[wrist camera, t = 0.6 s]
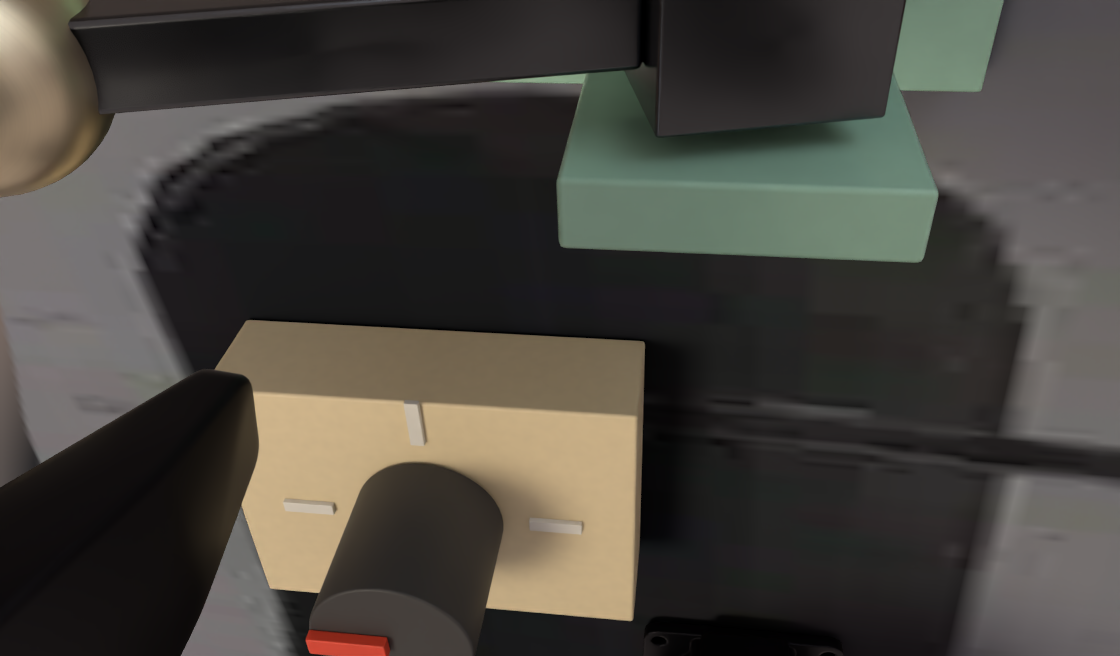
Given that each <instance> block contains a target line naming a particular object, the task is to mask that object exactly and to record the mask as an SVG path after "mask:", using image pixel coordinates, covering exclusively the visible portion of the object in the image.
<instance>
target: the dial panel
mask: <svg viewBox="0 0 1120 656" xmlns="http://www.w3.org/2000/svg"><path fill="white" fill-rule="evenodd" d="M644 364H645V344H644V342H643V341H631V340H612V339H594V338H575V337H556V336H538V335H519V334H501V333H482V332H464V331H445V330H426V329H408V328H389V327H371V326H352V325H334V324H315V323H296V322H278V321H259V320H247V321H246V322H245V324H244V325H243V327H242V328H241V330H240V331H239V333H238V334H237V336H236V338H235V339H234V341H233V342H232V344H231V345H230V347H229V348H228V350H227V351H226V353H225V354H224V356H223V358H222V359H221V361H220V362H219V364H218V365H217V367H216V368H215V370H219V371H225V372H231V373H237V374H242V375H244V376H246V377H247V378H248V379H249V381H250V383H251V385H252V389H253V396H254V404H255V412H256V420H257V428H258V436H259V452H258V458H257V462H256V466H255V469H254V472H253V474H252V477H251V480H250V482H249V485H248V488H247V491H246V493H245V496H244V499H243V502H242V504H241V505H242V508H243V511H244V514H245V517H246V520H247V523H248V526H249V529H250V531H251V534H252V537H253V540H254V543H255V546H256V549H257V552H258V555H259V558H260V561H261V563H262V566H263V569H264V572H265V575H266V578H267V581H268V584H269V587H270V588H272V589H281V590H292V591H304V592H315V593H319V592H320V590H321V587H322V585H323V582H324V580H325V577H326V575H327V572H328V570H329V567H330V565H331V562H332V560H333V557H334V555H335V552H336V550H337V547H338V545H339V542H340V540H341V537H342V535H343V532H344V530H345V527H346V525H347V522H348V520H349V517H350V515H351V512H352V510H353V507H354V505H355V502H356V500H357V497H358V495H359V492H360V490H361V488H362V486H363V485H364V484H365V482H366V481H367V480H368V479H369V478H370V477H372V476H373V475H374V474H376V473H378V472H379V471H381V470H384V469H386V468H389V467H392V466H396V465H402V464H427V465H434V466H439V467H443V468H446V469H449V470H452V471H455V472H457V473H460V474H462V475H464V476H466V477H468V478H469V479H471V480H472V481H474V482H476V483H477V484H478V485H480V486H481V487H482V488H483V489H485V490H486V491H487V492H488V494H489V495H490V496H491V497H492V498H493V499H494V501H495V502H496V504H497V506H498V507H499V509H500V512H501V515H502V519H503V535H502V539H501V544H500V548H499V552H498V557H497V561H496V565H495V570H494V574H493V579H492V583H491V587H490V592H489V596H488V601H487V605H486V608H492V609H503V610H515V611H526V612H537V613H548V614H559V615H570V616H581V617H592V618H603V619H615V620H626V621H632V620H633V618H634V606H635V594H636V582H637V569H638V557H639V545H640V514H641V476H642V439H643V401H644Z"/></svg>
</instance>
